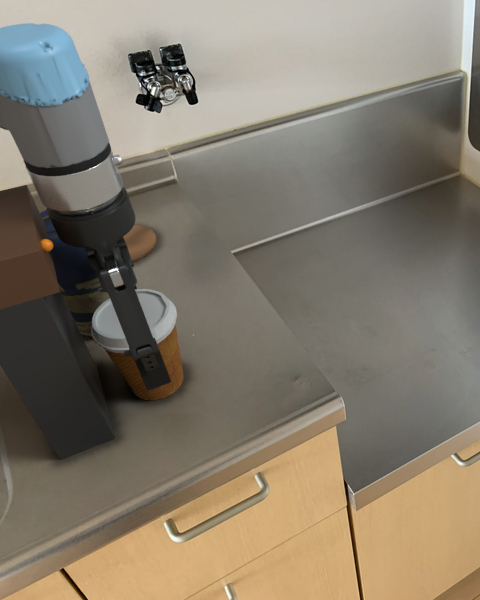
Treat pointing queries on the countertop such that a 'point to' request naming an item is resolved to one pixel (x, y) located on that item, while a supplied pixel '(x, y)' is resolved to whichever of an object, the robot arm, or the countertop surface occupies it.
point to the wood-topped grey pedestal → (45, 335)
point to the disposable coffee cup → (162, 329)
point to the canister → (75, 279)
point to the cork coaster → (140, 242)
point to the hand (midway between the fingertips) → (146, 347)
